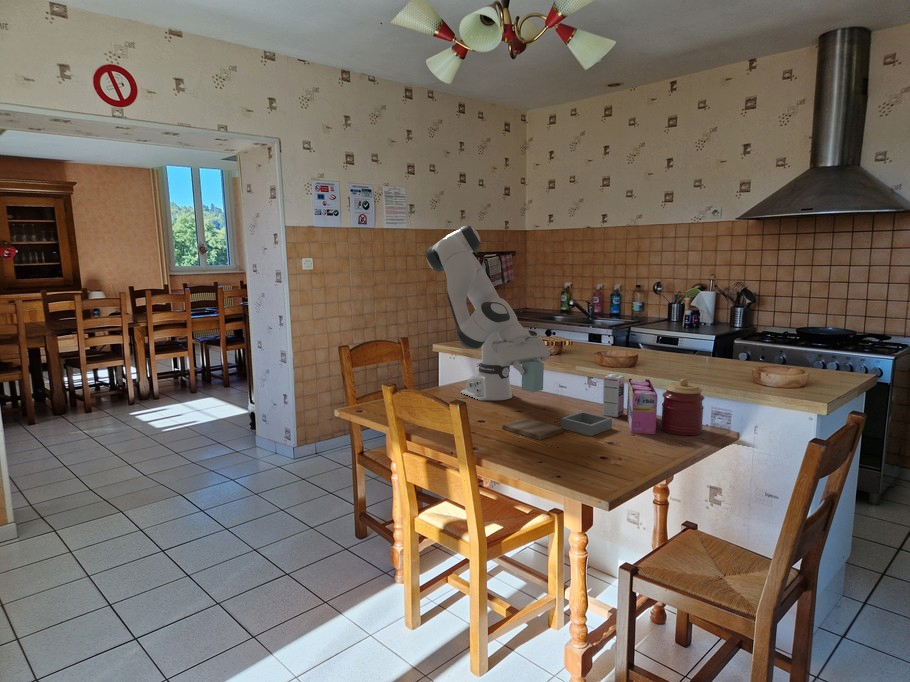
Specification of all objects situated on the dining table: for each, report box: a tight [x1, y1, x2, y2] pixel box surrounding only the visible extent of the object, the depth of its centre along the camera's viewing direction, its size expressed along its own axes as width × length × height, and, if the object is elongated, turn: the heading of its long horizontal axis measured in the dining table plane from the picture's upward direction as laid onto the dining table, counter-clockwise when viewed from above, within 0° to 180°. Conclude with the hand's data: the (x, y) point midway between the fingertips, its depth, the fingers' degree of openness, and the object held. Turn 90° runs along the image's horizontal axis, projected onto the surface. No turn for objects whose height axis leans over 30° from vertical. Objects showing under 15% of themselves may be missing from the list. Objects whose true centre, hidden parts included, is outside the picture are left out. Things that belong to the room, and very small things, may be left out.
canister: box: [660, 378, 705, 436], centre depth 192 cm, size 13×13×18 cm
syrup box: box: [602, 373, 625, 418], centre depth 211 cm, size 6×6×14 cm
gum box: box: [626, 377, 658, 435], centre depth 201 cm, size 24×8×14 cm, turn 168°
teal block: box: [521, 361, 545, 393], centre depth 191 cm, size 5×5×9 cm
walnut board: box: [502, 417, 564, 441], centre depth 194 cm, size 16×12×2 cm
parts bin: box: [560, 411, 613, 437], centre depth 196 cm, size 12×12×4 cm
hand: (532, 372), depth 191 cm, fingers closed on teal block, 5 cm apart
